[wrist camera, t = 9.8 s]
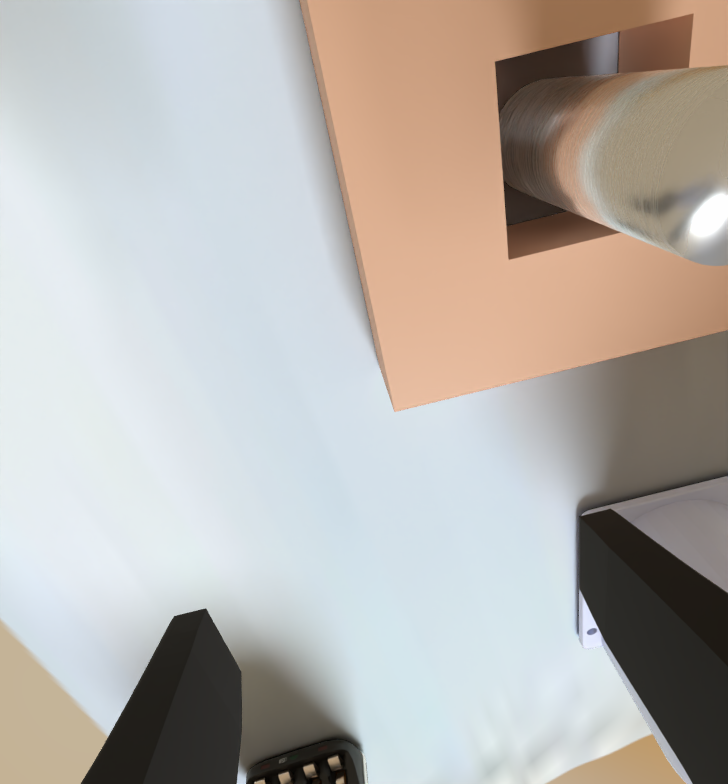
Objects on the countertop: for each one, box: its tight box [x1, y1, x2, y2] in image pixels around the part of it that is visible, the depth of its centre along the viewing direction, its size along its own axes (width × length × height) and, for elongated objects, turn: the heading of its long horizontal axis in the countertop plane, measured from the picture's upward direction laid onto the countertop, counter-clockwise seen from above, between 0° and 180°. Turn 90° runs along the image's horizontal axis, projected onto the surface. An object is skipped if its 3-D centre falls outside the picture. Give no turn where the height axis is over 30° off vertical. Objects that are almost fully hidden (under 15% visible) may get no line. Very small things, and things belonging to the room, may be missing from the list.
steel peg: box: [499, 65, 728, 266], centre depth 12 cm, size 3×3×8 cm
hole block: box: [299, 0, 728, 412], centre depth 14 cm, size 12×12×3 cm
